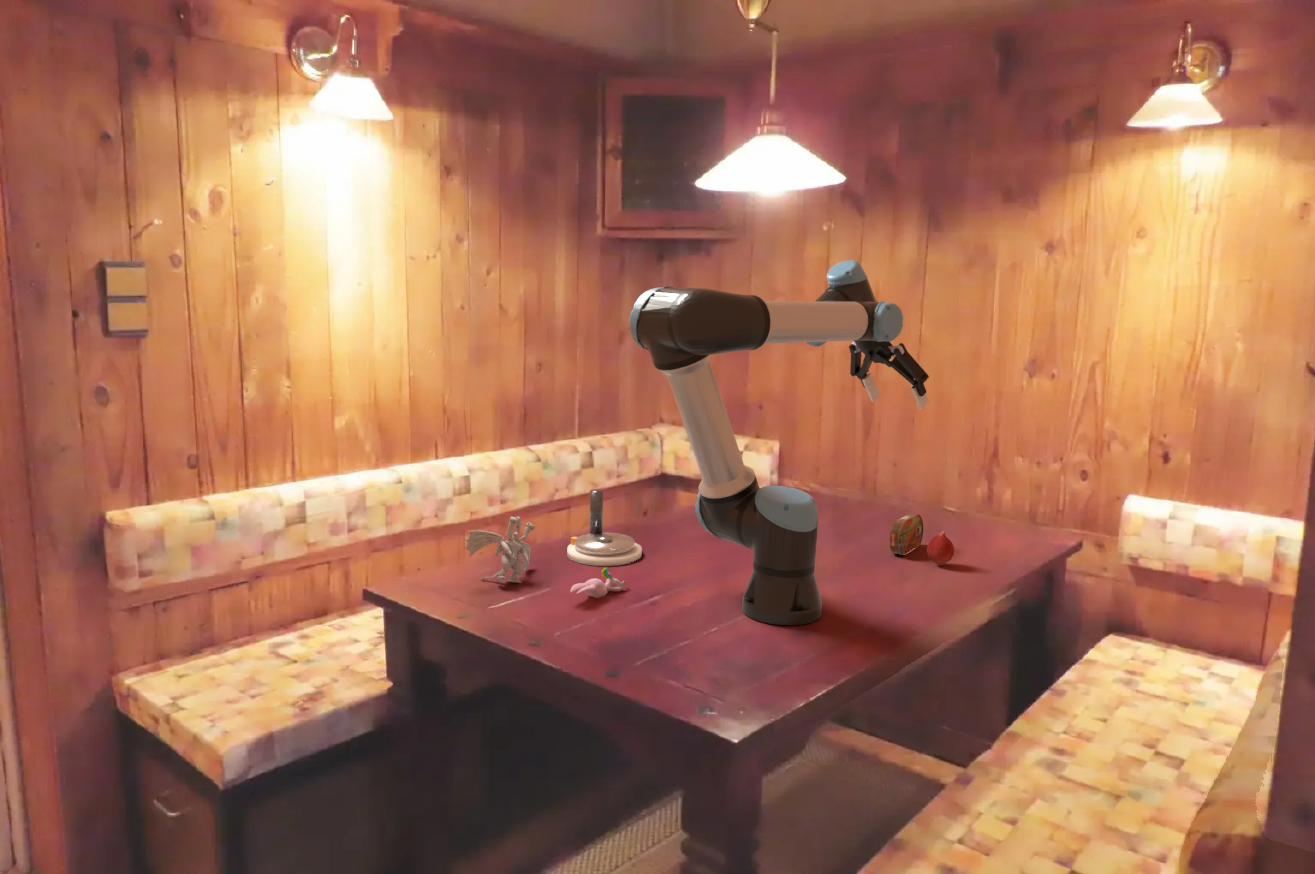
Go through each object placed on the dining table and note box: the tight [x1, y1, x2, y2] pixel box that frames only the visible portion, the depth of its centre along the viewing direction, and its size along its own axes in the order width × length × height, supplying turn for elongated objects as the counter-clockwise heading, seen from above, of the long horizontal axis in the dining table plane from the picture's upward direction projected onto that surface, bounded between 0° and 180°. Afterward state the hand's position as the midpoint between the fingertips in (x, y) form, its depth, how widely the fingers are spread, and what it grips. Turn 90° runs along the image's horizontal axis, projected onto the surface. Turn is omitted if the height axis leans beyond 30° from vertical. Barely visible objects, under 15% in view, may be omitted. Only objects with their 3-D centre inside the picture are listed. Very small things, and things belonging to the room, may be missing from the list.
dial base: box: [566, 536, 643, 567], centre depth 209 cm, size 17×17×3 cm
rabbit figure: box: [570, 567, 629, 599], centre depth 181 cm, size 6×6×15 cm
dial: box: [575, 488, 636, 556], centre depth 208 cm, size 14×14×12 cm
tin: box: [889, 513, 924, 556], centre depth 216 cm, size 15×3×8 cm, turn 143°
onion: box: [926, 531, 955, 566], centre depth 205 cm, size 6×6×8 cm
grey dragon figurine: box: [464, 515, 536, 584], centre depth 190 cm, size 10×18×14 cm, turn 136°
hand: (899, 402), depth 208 cm, fingers open, 13 cm apart
